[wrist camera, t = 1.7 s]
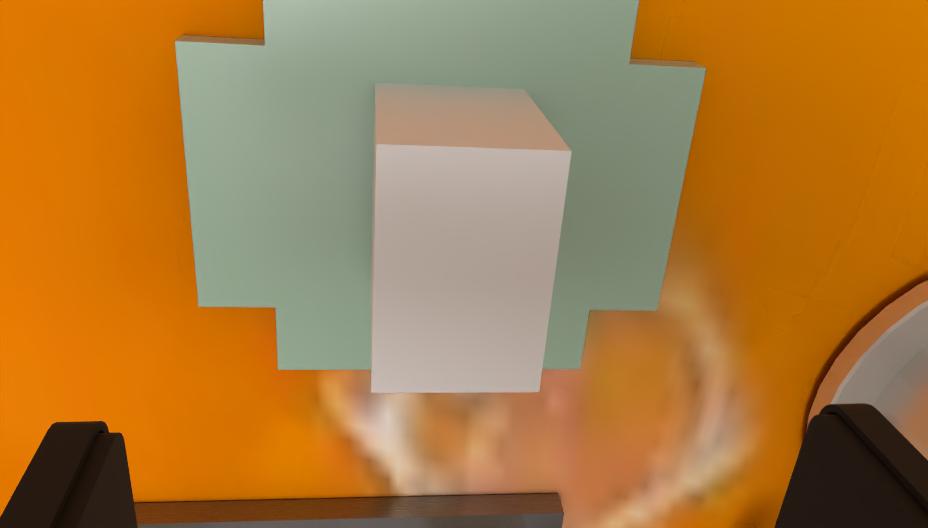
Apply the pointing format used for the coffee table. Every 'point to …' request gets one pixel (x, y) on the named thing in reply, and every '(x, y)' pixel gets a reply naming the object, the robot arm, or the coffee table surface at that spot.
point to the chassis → (360, 512)
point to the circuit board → (321, 146)
